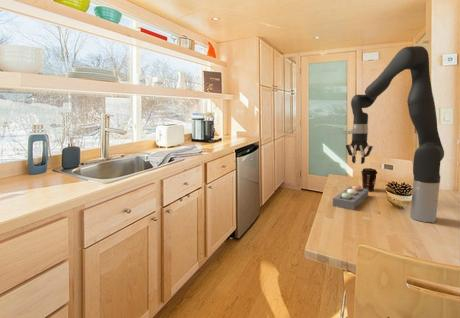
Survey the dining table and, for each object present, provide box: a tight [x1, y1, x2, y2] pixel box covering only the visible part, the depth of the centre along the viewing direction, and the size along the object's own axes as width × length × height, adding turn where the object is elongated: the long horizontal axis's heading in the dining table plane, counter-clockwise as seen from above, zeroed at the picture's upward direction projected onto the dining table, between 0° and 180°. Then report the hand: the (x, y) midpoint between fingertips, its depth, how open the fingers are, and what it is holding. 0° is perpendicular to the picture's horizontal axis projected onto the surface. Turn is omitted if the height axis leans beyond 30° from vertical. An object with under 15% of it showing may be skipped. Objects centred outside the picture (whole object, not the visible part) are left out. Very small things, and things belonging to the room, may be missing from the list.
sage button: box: [342, 193, 351, 200], centre depth 136 cm, size 4×4×3 cm
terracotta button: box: [351, 184, 362, 192], centre depth 150 cm, size 4×4×3 cm
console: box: [332, 186, 369, 211], centre depth 143 cm, size 10×28×4 cm, turn 140°
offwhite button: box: [346, 188, 356, 196], centre depth 143 cm, size 4×4×3 cm
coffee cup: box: [360, 167, 378, 192], centre depth 162 cm, size 9×8×13 cm
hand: (358, 163), depth 147 cm, fingers open, 3 cm apart
